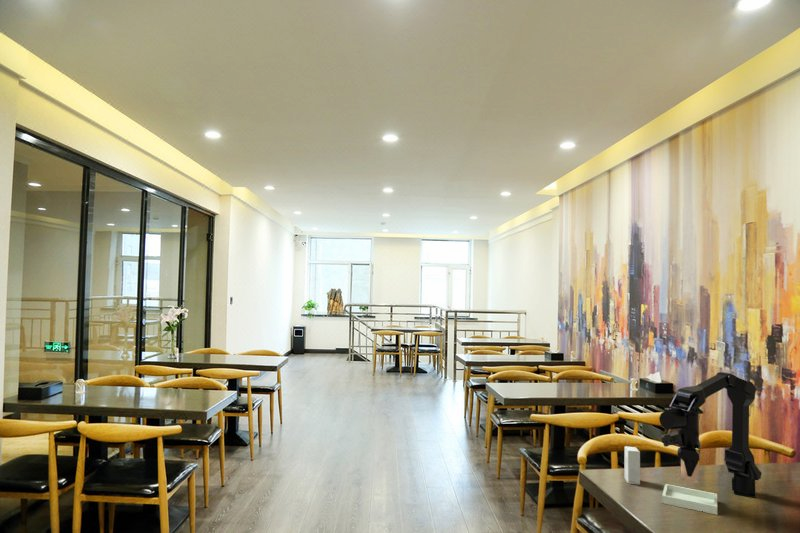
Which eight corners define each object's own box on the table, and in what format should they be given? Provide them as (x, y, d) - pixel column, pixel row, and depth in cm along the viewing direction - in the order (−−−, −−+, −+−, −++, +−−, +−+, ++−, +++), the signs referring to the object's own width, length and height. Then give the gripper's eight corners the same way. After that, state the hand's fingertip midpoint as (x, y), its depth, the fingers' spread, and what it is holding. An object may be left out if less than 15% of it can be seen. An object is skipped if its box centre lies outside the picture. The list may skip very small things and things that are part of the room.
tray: (717, 501, 170) (717, 493, 170) (717, 514, 159) (717, 506, 159) (665, 490, 178) (665, 483, 178) (662, 503, 168) (662, 495, 168)
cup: (698, 479, 170) (698, 458, 170) (697, 484, 166) (697, 462, 166) (681, 476, 173) (681, 455, 173) (680, 480, 168) (680, 459, 169)
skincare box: (640, 485, 183) (640, 451, 184) (628, 483, 184) (627, 450, 185) (636, 479, 189) (636, 446, 190) (624, 478, 190) (624, 445, 191)
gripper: (664, 418, 182) (665, 461, 181) (660, 429, 167) (660, 477, 166) (700, 422, 176) (701, 468, 176) (699, 434, 161) (699, 484, 160)
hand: (689, 474), depth 169 cm, fingers closed on cup, 5 cm apart
